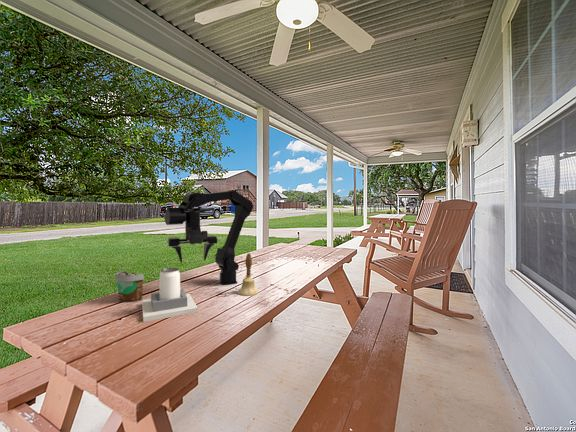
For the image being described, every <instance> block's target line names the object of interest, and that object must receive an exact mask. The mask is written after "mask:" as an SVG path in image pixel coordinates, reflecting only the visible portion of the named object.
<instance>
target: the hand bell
mask: <svg viewBox="0 0 576 432" xmlns="http://www.w3.org/2000/svg"><path fill="white" fill-rule="evenodd" d="M252 265H253V259H252V255H251V253H249V252H248V253H246V257H245V266H246V275H245V276H246V277H245V278H243V279H242V284H241V287H240V288H239V290H238V291H237V293H238V295H240V296H243V297H245V296H247V297H250V296H255V295H257V294H259V290H258V289H257V288H256V286H255V279H254V278H253V277H251V274H252V271H251V269H252Z"/></svg>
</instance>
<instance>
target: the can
mask: <svg viewBox="0 0 576 432" xmlns="http://www.w3.org/2000/svg"><path fill="white" fill-rule="evenodd" d="M158 279H159V281H158V282H159V292H160V301H161V300H167V299H174V298H180V289H181V273H180V271H179V268H178V267H168V268H162V269H160V273H159V277H158Z"/></svg>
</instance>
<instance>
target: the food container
mask: <svg viewBox="0 0 576 432" xmlns="http://www.w3.org/2000/svg"><path fill="white" fill-rule="evenodd" d="M114 280H115V281H116V284H117V292H118V301H119V302H120V303H121V302H122V303H134V302H138V301H142V300H143V289H144V286H143V285H144V280H145V275H144V273H140V274H139V273H138V274H136V273H134V272H126V271H125V269H121V270H120V271H117V272H116V273H115V275H114Z"/></svg>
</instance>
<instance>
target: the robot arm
mask: <svg viewBox="0 0 576 432" xmlns="http://www.w3.org/2000/svg"><path fill="white" fill-rule="evenodd" d="M227 200H228V201H230V203H231V205H232V206H234V209H233V211H234V218H233V221H232V223H231V226H230V229H229V231H228V234H227V237H226V239H225V241H224V244H223V246H221V247H218V248H217V250H216V254H215V255H214V257H215V259H214V261H215V263H216V265H218V268H219V269H220V272H219V283H221V285H223V286H226V285H233V284H237V283H238V281H237V271H238V270H239V267H240V265H239V264H238V263H237V261H236V260H235V257H236V252H235V248H236V245H237V242H238V240H239V236H240V234H241V231H242V229H243V225H244V224H245V220H247V218H248V217H249V216H250V215H251V213H252V212H253V210H254V203H253V202H252V200H250V199H248V198H247V197H245V196H244V195H242V194H240V193H239V192H238V191H237V190H234V189H232V190H230V189H229V190H225V191H219V192H208V193H203V192H188V193H185V195H184V196H183V199H182V201H181V202H180V204H179V205H178V206H177V207H173V206H172V207H171V206H169V207H168V206H167V207H166V210H165V214H164V221H165V224H166V225H167V226H170V225H171V226H173V225H183V224H185V227H184V228H185V229H184V230H185V231H184V232H185V234H184V235H185V238H180V237H168V238H167V246H168V247H171V248H172V249H175V252H176V254H177V257H178V260H179V261H180V263H181V264H182V263H183V257H182V256H183V255H182V247H181V246H180V245H181V244H190V245H195V244H199V245H200V244H203V261H206V260H207V256H208V254H209V251H210V249H211V247H212V246H215V244H218V238H217V236H215V235H209V234H208V230H201V229H202V228H201V213H205V212H206V210H205V209H204V208H203V207H202V206H204V205H206V204H208V203H212V202H213V203H214V202H219V201H227Z"/></svg>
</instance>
